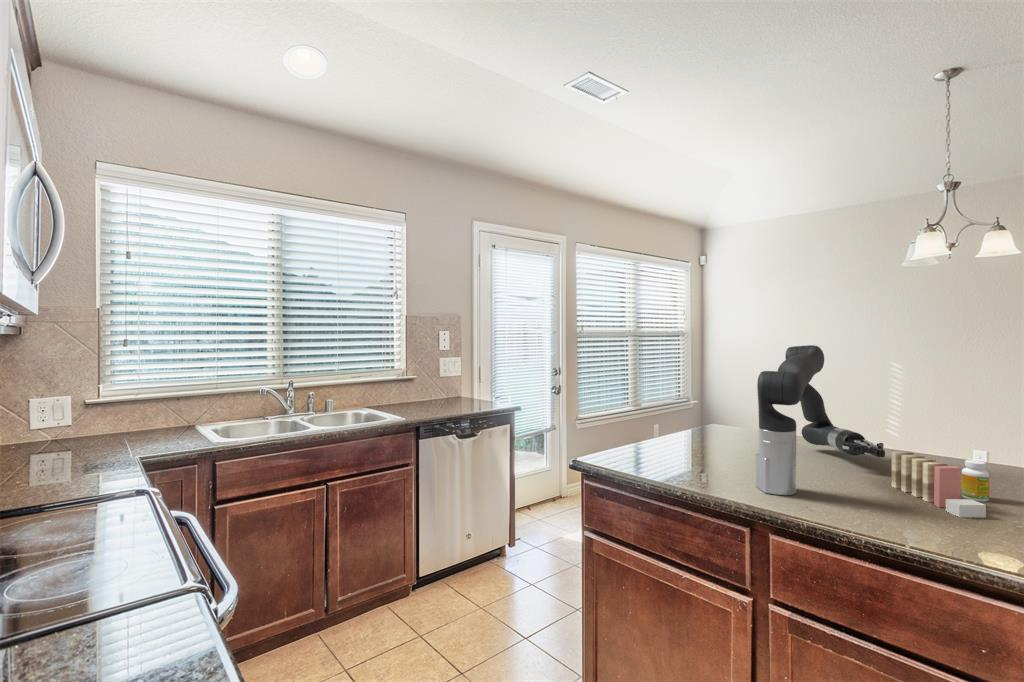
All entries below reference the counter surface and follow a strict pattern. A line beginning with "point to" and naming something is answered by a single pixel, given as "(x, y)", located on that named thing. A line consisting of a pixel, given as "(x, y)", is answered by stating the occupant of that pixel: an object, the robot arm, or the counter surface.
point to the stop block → (966, 508)
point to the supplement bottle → (975, 481)
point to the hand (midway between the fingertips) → (882, 453)
